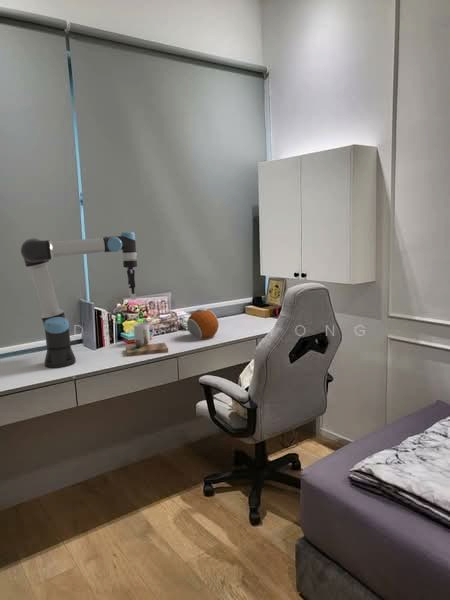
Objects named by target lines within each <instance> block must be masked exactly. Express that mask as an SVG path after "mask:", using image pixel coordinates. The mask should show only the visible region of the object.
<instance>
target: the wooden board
mask: <svg viewBox="0 0 450 600" xmlns="http://www.w3.org/2000/svg"><path fill="white" fill-rule="evenodd" d="M135 347H136V345H130V346H125V352H126V356H127V357H132V356H142V355H151V354H152V355H153V354H161V353H168V352H169V347H168V346H167V344H166V342H161V343H160V342H159V343H157V342H156V343H148V345H145V346H143V347H142V348H136V349H133V350H131V349H132V348H135Z"/></svg>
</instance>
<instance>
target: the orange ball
mask: <svg viewBox="0 0 450 600" xmlns="http://www.w3.org/2000/svg"><path fill="white" fill-rule="evenodd" d="M219 326H220V325H219V320H218V318H217V316H216V314H215V313H214V312H213V311H212V310H209V309H207V308H205V307H203V308H202V307H200V308H197V310H195V311H193V312H192V313H191V314H190V315H189V317H188V319H187V321H186V327H187V329H188V333H190V335H191V336H192V337H193V338H195V339H199V340H208V339H211V338H213V337H214V336H215V335H216V334H217V332H218V329H219Z"/></svg>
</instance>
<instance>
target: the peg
mask: <svg viewBox="0 0 450 600" xmlns="http://www.w3.org/2000/svg"><path fill="white" fill-rule="evenodd" d="M143 335H144V344H142V340H136V343H135V346H136V347H135V348H132V349H131V350H133V349H136V348H142V347H143V346H145V345H148V344H149V343H148V336H147V329H143Z"/></svg>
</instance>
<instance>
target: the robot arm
mask: <svg viewBox="0 0 450 600" xmlns="http://www.w3.org/2000/svg"><path fill="white" fill-rule="evenodd" d="M120 250H122V253H121V254H122V260H123V261H122V265H123V268H127V269H126V274H127V280H128V281H127V283H128V294H129V295H128V296H129V297H130V300H131V301H132V300H134V301H135V300H137V296H136V295H137V292H136V281H135V275H136V273H135V272H136V271H135V269H134V268H137V267H138V260H137V256H138V253H137V244H136V234H135V232H133V231H125V232H121V234H120V235H118V236H114V235H113V236H101V237H97V238H96V237H95V238H86V239H85V238H84V239H73V240H72V239H71V240H62V241H61V240H59V241H51V240H49V239H46V240H42V239H38V238H28V239H26V240H25V241H24V242H23V243H22V245H21V248H20V254H21V256H22V258H23V262H24V264H25V268H26V269H28V270H29V271H30V274H31V277H32V281H33V283H34V284H33V285H34V287H35V290H36V294H37V297H38V300H39V303H40V308H41V311H42V315H41V320H42V321H41V322H42V324H43V327H44V332H45V344H46V345H45V346H46V354H45V358H44V366H45V367H46V368H52V369H55V368H56V369H59V368H65V367H69V366H72V365H74V364H76V361H77V360H76V359H77V358H76V355H75V353H74V351H73V350H72V346H71V337H70V335H71V334H70V322H69V319H68V318H66V316H65V312H64V310H63V309H61V308H60V305H59V301H58V298H57V295H56V292H55V288H54V285H53V281H52V277H51V275H50V271H49V267H48V264H49V263H50V260H53V259H54V258H59V257H69V256H70V257H71V256H81V255H91V254H100V253H111V252H112V253H117V252H119V251H120Z"/></svg>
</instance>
